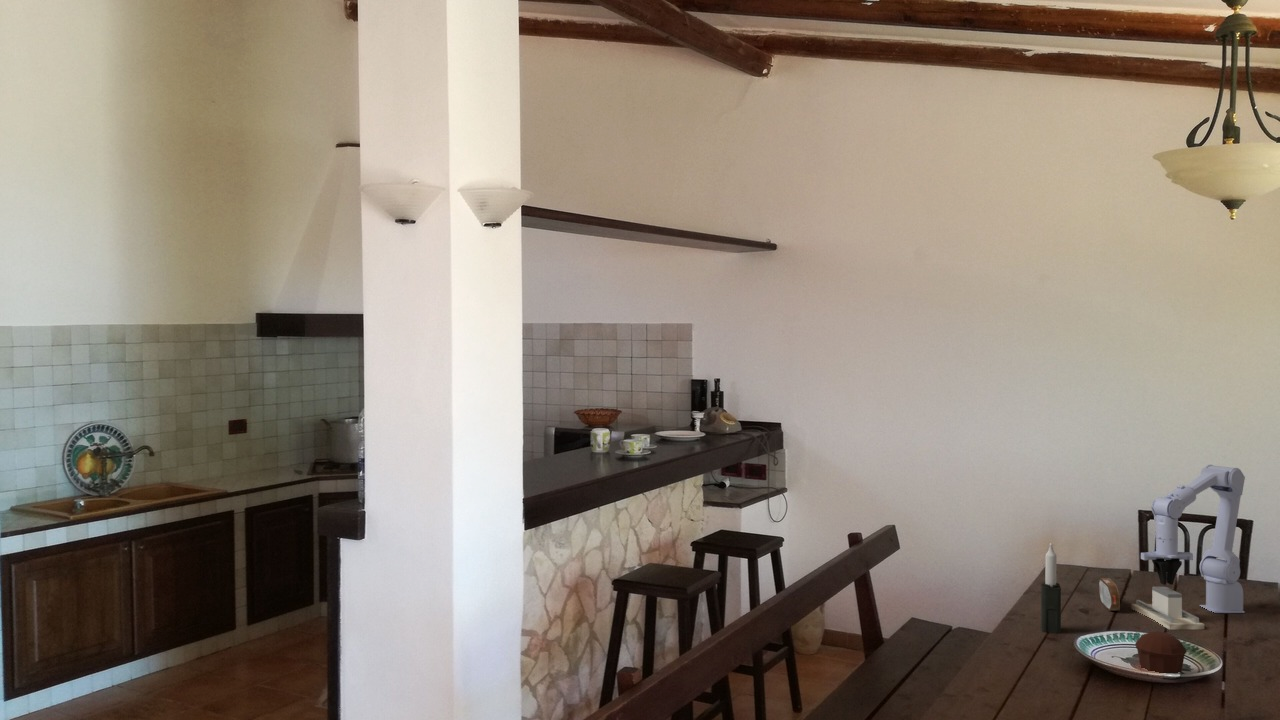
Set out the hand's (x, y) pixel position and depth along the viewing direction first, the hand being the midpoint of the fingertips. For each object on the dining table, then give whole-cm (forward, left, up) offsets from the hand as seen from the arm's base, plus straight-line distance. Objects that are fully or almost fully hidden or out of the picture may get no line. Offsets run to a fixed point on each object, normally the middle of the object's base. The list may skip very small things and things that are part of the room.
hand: (1166, 583), depth 295 cm
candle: (+39, +11, -11) cm, 42 cm away
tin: (+11, -13, -11) cm, 20 cm away
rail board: (0, 0, -10) cm, 10 cm away
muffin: (+27, +48, -11) cm, 56 cm away
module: (0, 0, -9) cm, 9 cm away
